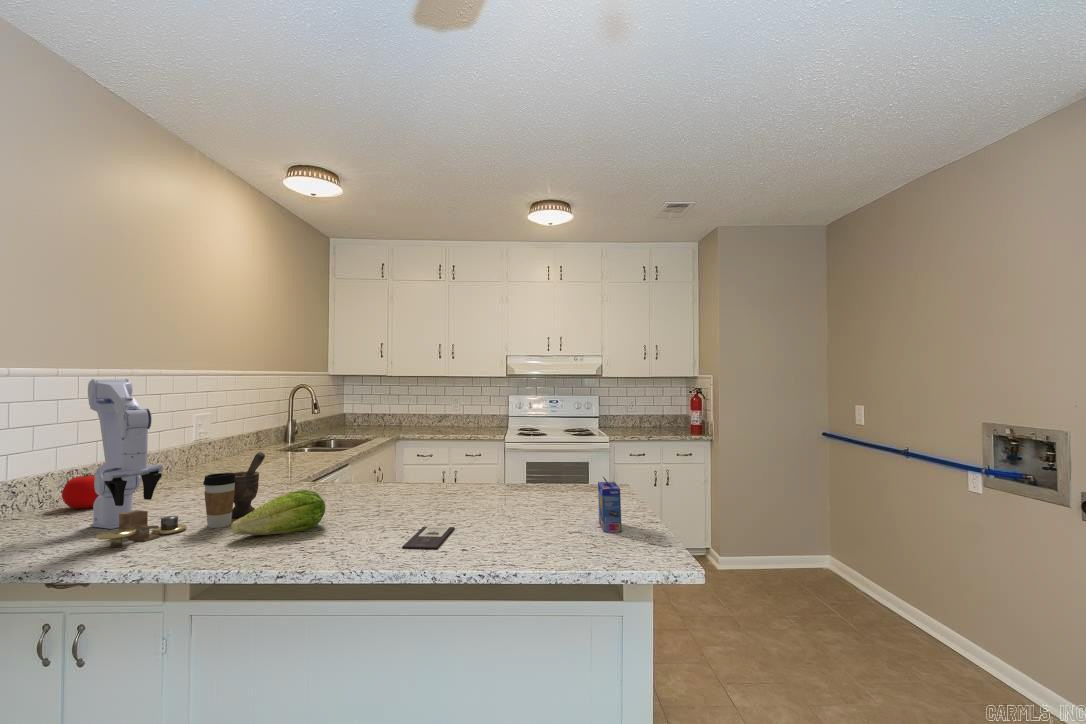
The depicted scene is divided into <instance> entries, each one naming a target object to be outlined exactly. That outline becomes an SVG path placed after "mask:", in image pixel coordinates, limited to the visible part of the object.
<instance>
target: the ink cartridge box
mask: <svg viewBox="0 0 1086 724" xmlns="http://www.w3.org/2000/svg"><path fill="white" fill-rule="evenodd" d="M602 478H603V479H604V481H598V482H597V491H598V494H597V495H598V496H597V497H598V498H597V499H598V501H597V502H598V523H599V525H600V528H601V530H602V532H603V533H622V532H623V531H622V530H623V528H622V503H621V502H622V500H621V488H620V487H619V486H618V484H617V483H616V482H615V481H608V480H607V479H606V478H605V476H602Z"/></svg>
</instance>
